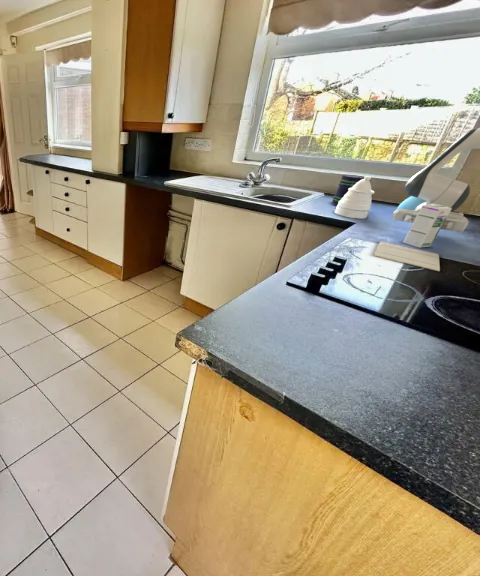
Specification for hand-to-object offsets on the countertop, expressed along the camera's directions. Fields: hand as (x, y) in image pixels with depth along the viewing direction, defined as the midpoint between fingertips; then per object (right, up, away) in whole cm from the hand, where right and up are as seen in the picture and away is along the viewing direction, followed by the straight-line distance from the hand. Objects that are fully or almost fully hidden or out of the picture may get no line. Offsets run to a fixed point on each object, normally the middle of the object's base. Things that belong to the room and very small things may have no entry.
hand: (427, 223), depth 114 cm
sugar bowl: (+37, +11, +41) cm, 56 cm away
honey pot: (+4, +12, +39) cm, 41 cm away
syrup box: (-1, -8, +3) cm, 8 cm away
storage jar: (+14, +22, +58) cm, 64 cm away
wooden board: (-15, -12, -7) cm, 21 cm away
